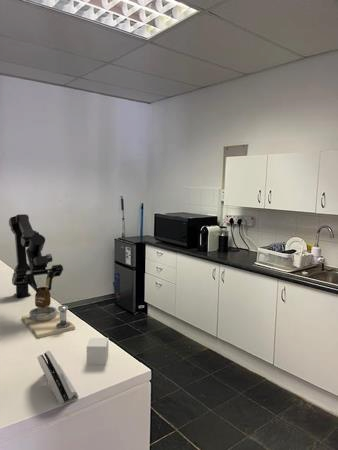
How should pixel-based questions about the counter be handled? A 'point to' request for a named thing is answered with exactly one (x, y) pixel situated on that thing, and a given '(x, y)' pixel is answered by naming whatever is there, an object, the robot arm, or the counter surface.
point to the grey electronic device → (56, 377)
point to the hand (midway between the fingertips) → (43, 290)
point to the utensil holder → (43, 296)
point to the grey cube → (97, 351)
